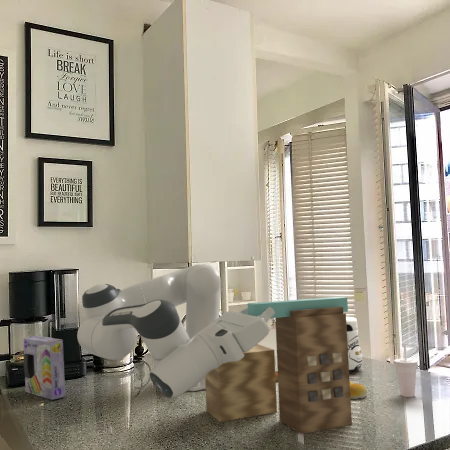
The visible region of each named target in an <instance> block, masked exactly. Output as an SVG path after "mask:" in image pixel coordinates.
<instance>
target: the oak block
mask: <svg viewBox="0 0 450 450" xmlns="http://www.w3.org/2000/svg"><path fill="white" fill-rule="evenodd" d="M243 353H244V357H243V358H242V359H241V360H239V361H233V362H227V363H223V364H222V365H221V366H219V367H218V368H217V369H214V370H212V371H210V372H209V373H208V374H207V375H206V376H205V384H206V389H205V411H206V412H207V413H208V414H209V415H211V417H214V419H216V420H217V421H218V422H219V423H221V422H228V421H233V419H234V420H238V419H239V418H240V419H245V418H244V417H246V418H250V417H249V416H251V417H256V415H257V416H261V415H262V414H263V415H267V414H273V413H278V406H277V384H276V383H277V381H276V376H275V371H276V358H275V357H276V356H275V349H273V348H271V347H268V346H264V345H262V344H259V343H258V344H257V345H256V346H254V347H253V348H252V349H250V350H249V351H247V352H243ZM263 415H262V416H263ZM240 419H239V420H240ZM227 420H228V421H227Z"/></svg>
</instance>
